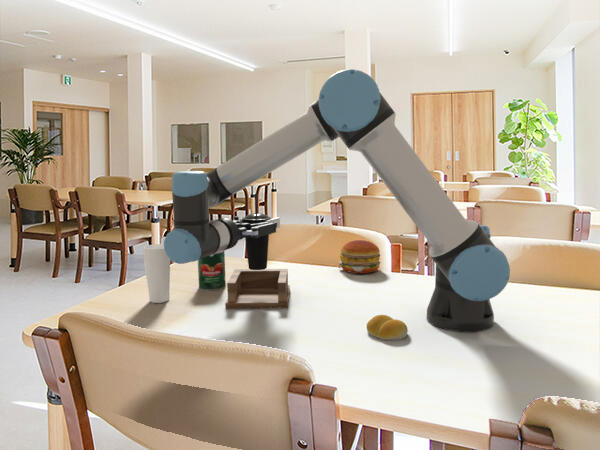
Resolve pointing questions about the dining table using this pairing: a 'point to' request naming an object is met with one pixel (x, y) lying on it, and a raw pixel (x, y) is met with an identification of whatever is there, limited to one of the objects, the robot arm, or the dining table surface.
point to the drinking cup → (257, 241)
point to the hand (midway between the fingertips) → (265, 221)
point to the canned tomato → (212, 272)
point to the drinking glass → (157, 273)
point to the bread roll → (386, 328)
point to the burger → (359, 257)
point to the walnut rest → (258, 289)
